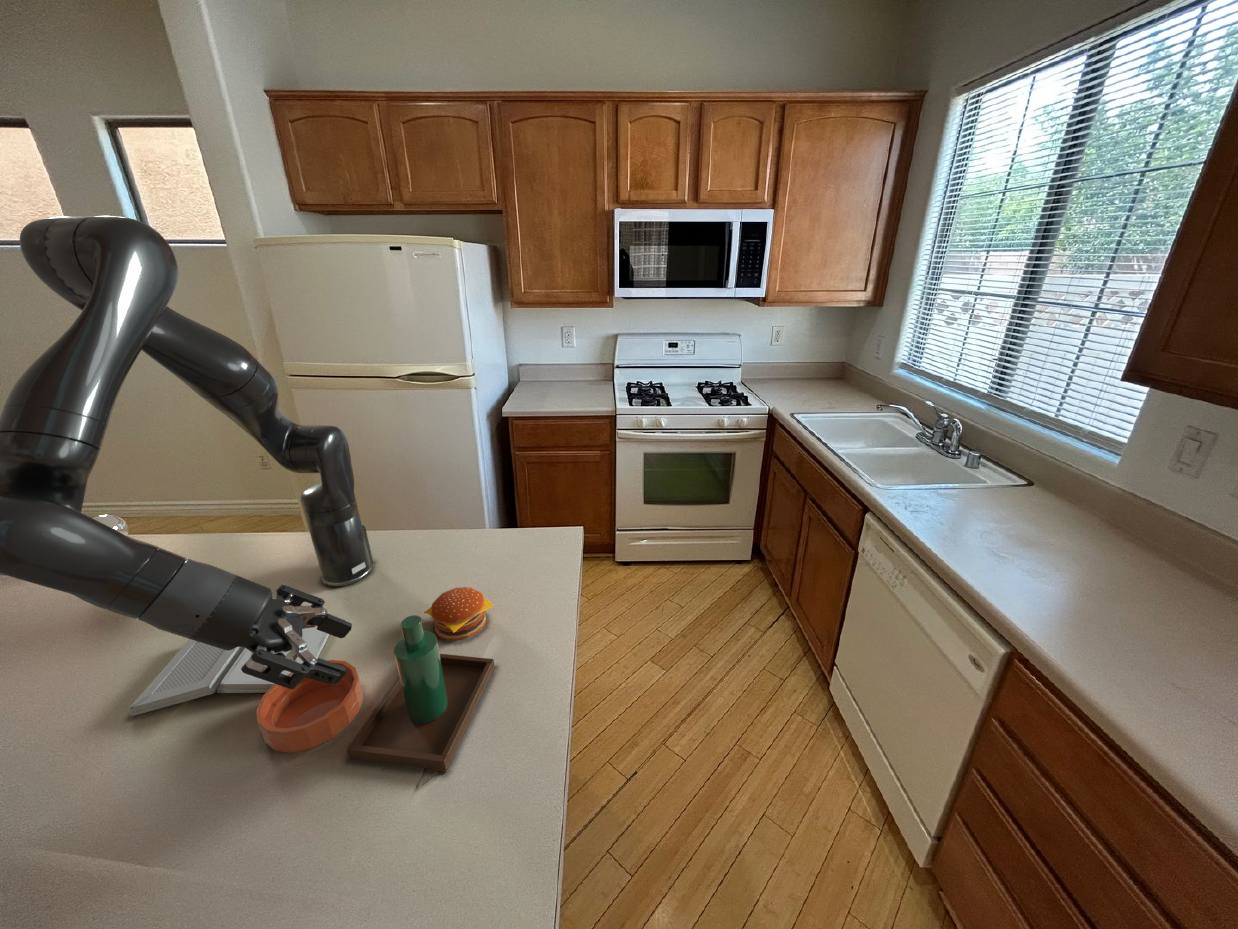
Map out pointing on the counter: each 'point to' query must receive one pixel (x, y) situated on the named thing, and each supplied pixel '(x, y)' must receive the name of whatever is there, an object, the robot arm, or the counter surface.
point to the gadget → (210, 673)
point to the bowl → (309, 711)
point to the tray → (432, 742)
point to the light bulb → (114, 523)
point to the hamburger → (459, 613)
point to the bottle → (420, 672)
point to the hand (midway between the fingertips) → (345, 652)
